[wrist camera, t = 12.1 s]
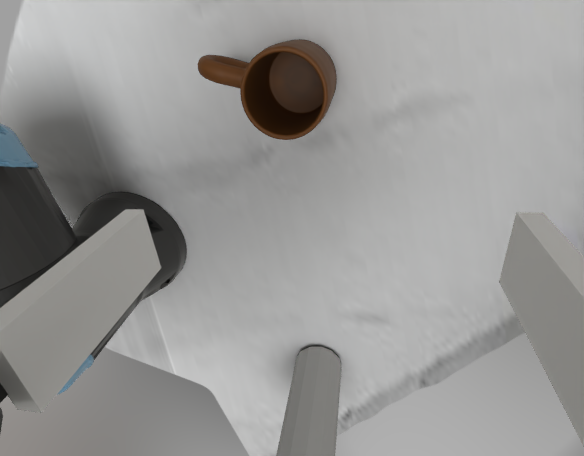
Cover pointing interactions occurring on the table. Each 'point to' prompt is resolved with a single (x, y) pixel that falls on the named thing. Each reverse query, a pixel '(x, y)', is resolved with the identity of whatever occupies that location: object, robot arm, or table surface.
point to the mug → (279, 86)
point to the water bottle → (312, 405)
